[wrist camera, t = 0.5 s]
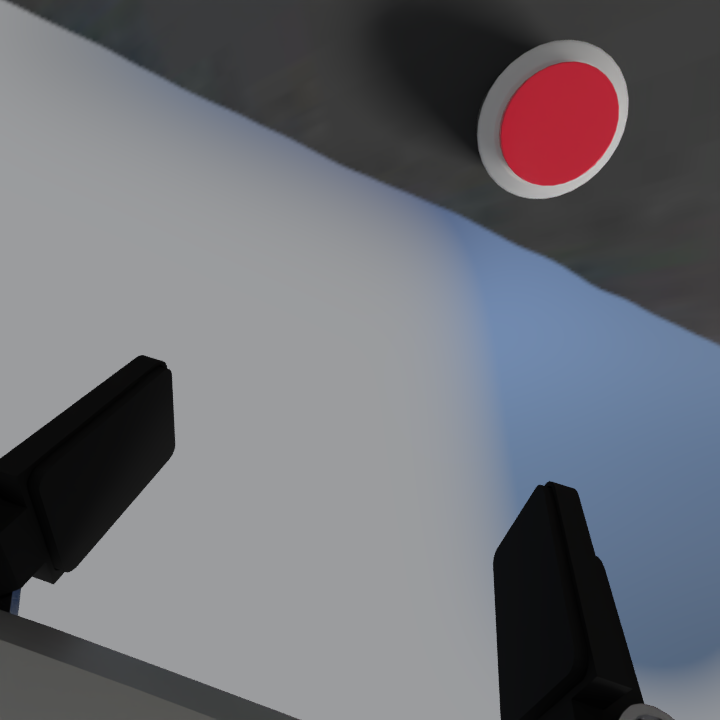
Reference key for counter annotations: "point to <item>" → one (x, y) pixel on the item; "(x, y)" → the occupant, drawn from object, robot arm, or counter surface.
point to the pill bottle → (552, 119)
